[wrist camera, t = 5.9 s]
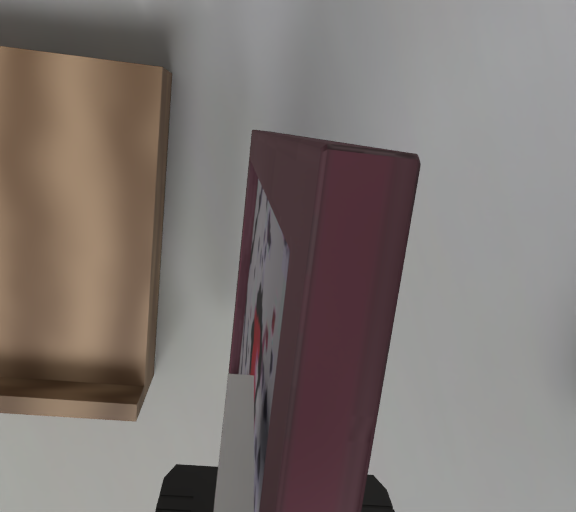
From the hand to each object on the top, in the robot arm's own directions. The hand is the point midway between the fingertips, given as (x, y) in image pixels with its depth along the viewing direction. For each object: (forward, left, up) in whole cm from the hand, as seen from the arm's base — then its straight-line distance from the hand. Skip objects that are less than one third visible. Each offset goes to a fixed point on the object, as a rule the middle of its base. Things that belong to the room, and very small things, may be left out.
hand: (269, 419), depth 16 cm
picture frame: (-4, 0, -17) cm, 17 cm away
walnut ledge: (+14, 0, -23) cm, 27 cm away
